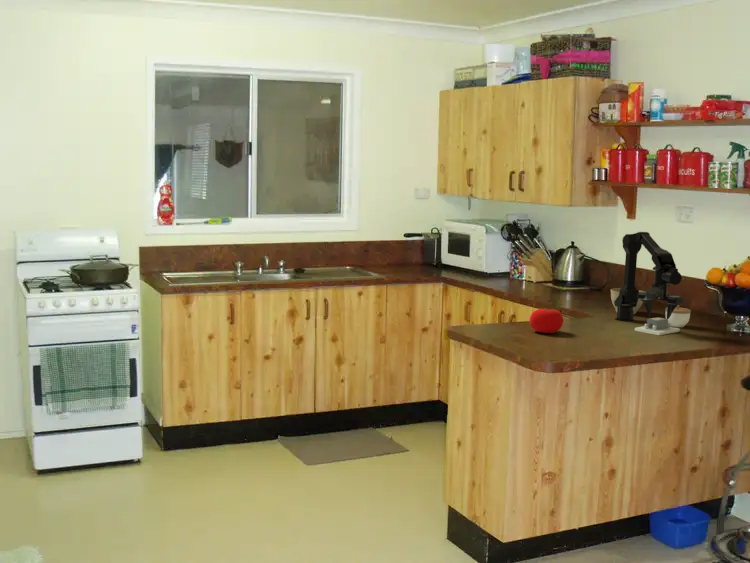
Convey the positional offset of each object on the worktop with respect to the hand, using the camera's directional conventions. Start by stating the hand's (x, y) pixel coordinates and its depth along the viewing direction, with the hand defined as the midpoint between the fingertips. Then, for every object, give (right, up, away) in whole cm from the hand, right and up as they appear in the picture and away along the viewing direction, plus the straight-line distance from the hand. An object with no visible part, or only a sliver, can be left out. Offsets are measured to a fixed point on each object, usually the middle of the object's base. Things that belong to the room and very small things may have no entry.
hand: (658, 317), depth 395 cm
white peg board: (0, -6, +1) cm, 6 cm away
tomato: (-51, -6, -11) cm, 52 cm away
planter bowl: (-1, 0, +46) cm, 46 cm away
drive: (0, -5, +1) cm, 5 cm away
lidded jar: (+13, -5, +15) cm, 20 cm away
